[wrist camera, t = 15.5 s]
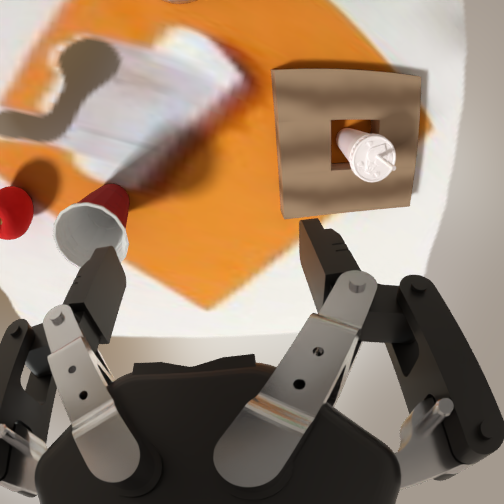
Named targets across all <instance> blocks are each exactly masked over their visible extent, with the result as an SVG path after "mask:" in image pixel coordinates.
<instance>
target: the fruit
mask: <svg viewBox="0 0 504 504" xmlns="http://www.w3.org/2000/svg"><path fill="white" fill-rule="evenodd" d="M33 212H34V209H33V203H32V200H31V198H30V196H29V195H28V194H27V193H26V192H25V191H24V190H23V189H21V188H19V187H13V186H10V187H5V188H2V189H1V190H0V238H1V239H5V240H11V239H16V238H18V237H20V236H22V235H23V234H24V233H25V232H26V231H27V230H28V228H29V226H30V224H31V221H32V218H33Z"/></svg>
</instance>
